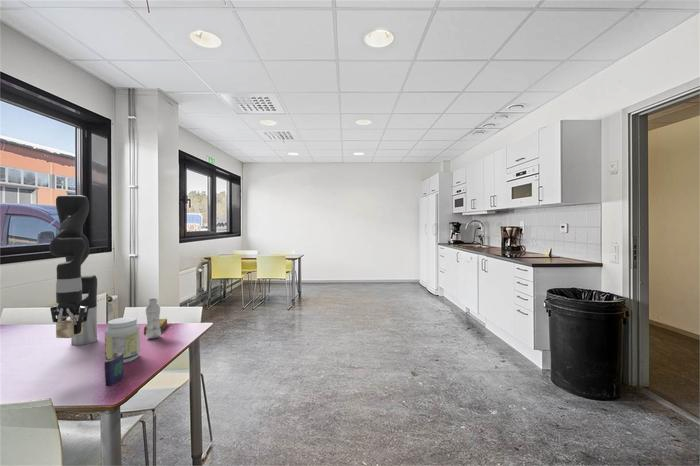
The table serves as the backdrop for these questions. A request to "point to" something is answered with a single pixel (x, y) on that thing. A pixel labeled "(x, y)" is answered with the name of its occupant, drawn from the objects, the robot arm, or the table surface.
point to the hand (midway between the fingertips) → (70, 333)
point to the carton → (162, 325)
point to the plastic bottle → (153, 319)
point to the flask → (114, 369)
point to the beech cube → (66, 329)
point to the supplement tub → (122, 338)
